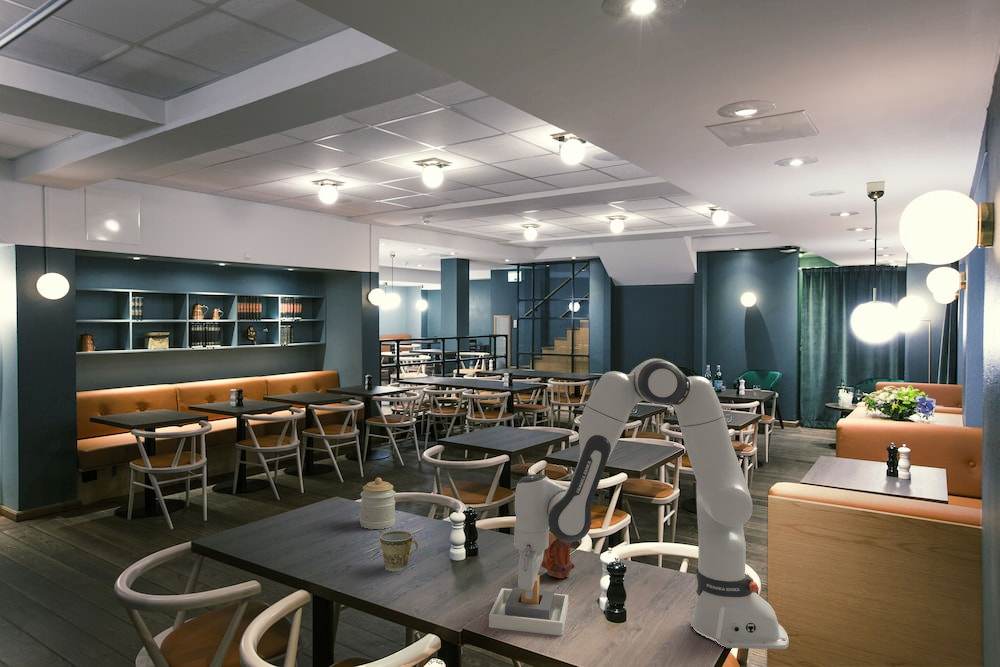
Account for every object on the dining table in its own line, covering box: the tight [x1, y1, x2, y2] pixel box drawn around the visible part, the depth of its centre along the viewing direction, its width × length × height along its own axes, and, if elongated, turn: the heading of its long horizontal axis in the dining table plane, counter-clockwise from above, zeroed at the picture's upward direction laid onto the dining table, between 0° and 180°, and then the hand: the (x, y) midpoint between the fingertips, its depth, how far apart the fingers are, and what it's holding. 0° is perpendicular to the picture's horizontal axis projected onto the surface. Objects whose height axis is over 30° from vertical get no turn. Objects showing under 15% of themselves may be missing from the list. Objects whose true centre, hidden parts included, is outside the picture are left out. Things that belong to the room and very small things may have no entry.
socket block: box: [505, 587, 555, 620], centre depth 157 cm, size 11×11×4 cm
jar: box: [359, 477, 396, 530], centre depth 231 cm, size 13×13×18 cm
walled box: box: [488, 587, 569, 637], centre depth 157 cm, size 18×16×4 cm
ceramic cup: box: [379, 529, 419, 573], centre depth 189 cm, size 13×10×10 cm
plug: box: [521, 574, 541, 604], centre depth 157 cm, size 4×4×8 cm
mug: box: [541, 528, 575, 579], centre depth 184 cm, size 15×8×15 cm, turn 141°
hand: (530, 593), depth 157 cm, fingers closed on plug, 4 cm apart
